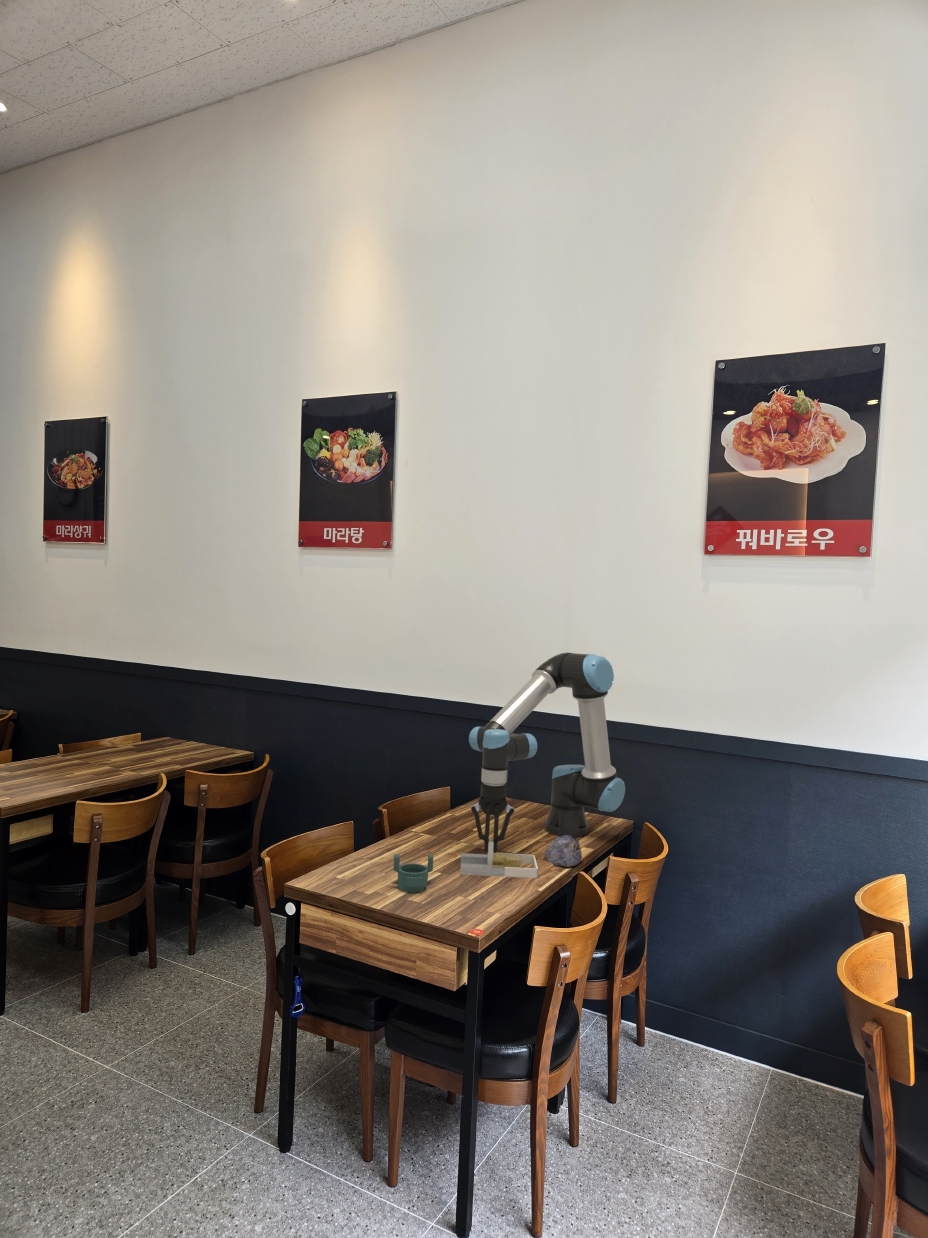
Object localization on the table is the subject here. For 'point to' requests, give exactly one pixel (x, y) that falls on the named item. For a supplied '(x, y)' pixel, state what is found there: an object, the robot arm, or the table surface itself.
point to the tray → (523, 871)
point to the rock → (564, 851)
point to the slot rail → (479, 865)
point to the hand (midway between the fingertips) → (489, 863)
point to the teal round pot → (412, 875)
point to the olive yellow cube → (499, 859)
